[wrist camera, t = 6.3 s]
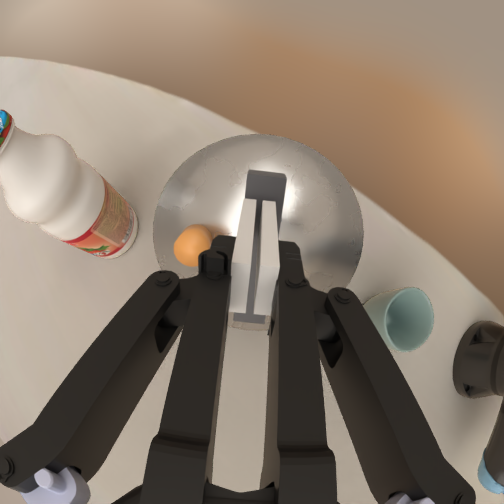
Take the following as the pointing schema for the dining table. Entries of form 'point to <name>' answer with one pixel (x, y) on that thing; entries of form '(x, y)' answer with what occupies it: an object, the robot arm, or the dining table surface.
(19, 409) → the dining table surface
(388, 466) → the robot arm
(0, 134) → the fruit juice
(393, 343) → the cup
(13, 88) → the dining table surface
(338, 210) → the lid
